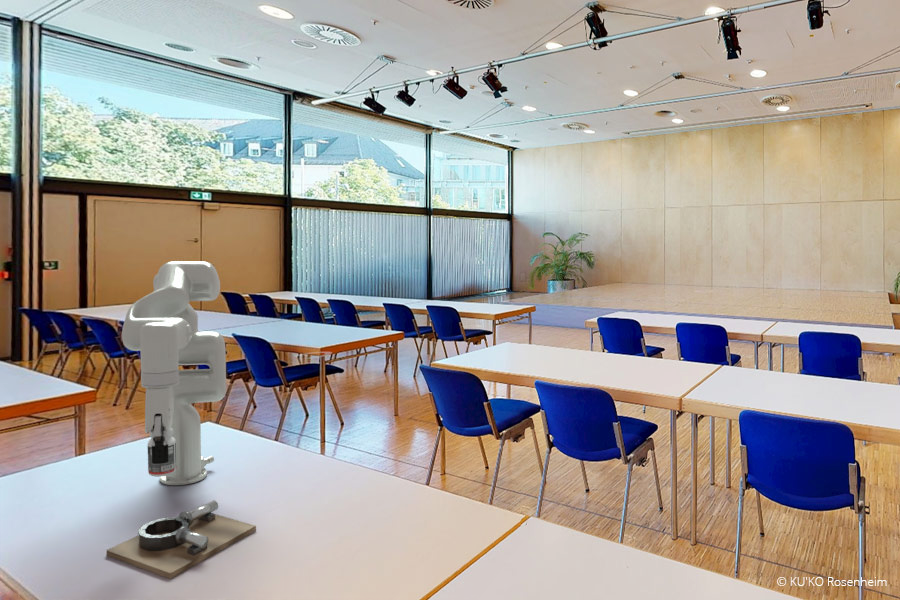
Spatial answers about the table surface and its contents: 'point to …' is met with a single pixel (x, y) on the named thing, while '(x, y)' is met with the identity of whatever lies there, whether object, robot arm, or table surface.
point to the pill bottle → (170, 466)
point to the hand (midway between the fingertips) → (162, 457)
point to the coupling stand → (180, 540)
